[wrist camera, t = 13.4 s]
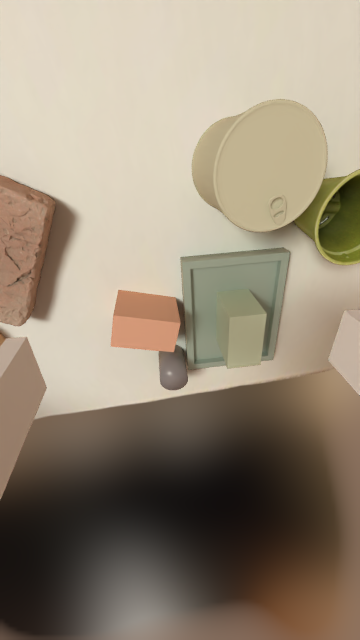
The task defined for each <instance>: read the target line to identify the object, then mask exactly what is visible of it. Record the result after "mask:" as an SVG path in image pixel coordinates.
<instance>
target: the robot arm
mask: <svg viewBox="0 0 360 640" xmlns="http://www.w3.org/2000/svg"><path fill="white" fill-rule="evenodd" d="M328 361H329V362H330V363H331V364H332V365H333V366H334V368H335V369H336V370H337V371H338V372H339V373H340V374H341V375H342V376H343V378H344V379H345V380H346V381H347V382H348V383H349V384H350V386H351V387H352V388H353V389H354V390H355V391H356V392H357V393H358V395H359V396H360V309H356V310H344V313H343V316H342V319H341V322H340V325H339V328H338V331H337V334H336V337H335V340H334V343H333V346H332V349H331V352H330V355H329V358H328ZM46 388H47V387H46V385H45V382H44V379H43V377H42V374H41V372H40V369H39V367H38V364H37V362H36V359H35V357H34V354H33V351H32V349H31V346H30V344H29V341H28V339H27V337H19V338H7V339H6V340H5V341H4V342H3V344H2V345H1V346H0V499H1V497H2V494H3V492H4V490H5V487H6V485H7V482H8V480H9V478H10V475H11V473H12V470H13V468H14V466H15V463H16V461H17V458H18V456H19V453H20V451H21V448H22V446H23V444H24V441H25V439H26V436H27V434H28V432H29V429H30V427H31V424H32V422H33V420H34V417H35V415H36V413H37V410H38V408H39V405H40V403H41V401H42V398H43V396H44V393H45V391H46Z"/></svg>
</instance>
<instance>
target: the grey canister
mask: <svg viewBox="0 0 360 640" xmlns="http://www.w3.org/2000/svg"><path fill="white" fill-rule="evenodd" d="M159 369H160V383H161V385H162V386H163V387H164V388H166V389H168V390H178V389H181V388H182V387H184V386H185V385H186V384H187V382H188V376H187V370H186V365H185V360H184V354H183V350H182V348H181V347H180V346H178V345H175V349H174V352H166V351H159Z"/></svg>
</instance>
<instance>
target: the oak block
mask: <svg viewBox="0 0 360 640" xmlns="http://www.w3.org/2000/svg"><path fill="white" fill-rule="evenodd" d="M5 340H6V338H5V337H4V336H3V335H2V334H1V333H0V346H1V345H2V344H3V342H4V341H5Z"/></svg>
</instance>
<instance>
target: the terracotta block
mask: <svg viewBox="0 0 360 640" xmlns="http://www.w3.org/2000/svg"><path fill="white" fill-rule="evenodd" d="M180 324H181V322H180V317H179V312H178V308H177V303H176V298H175V297H168V296H161V295H153V294H146V293H138V292H131V291H123V290H118V295H117V300H116V305H115V310H114V315H113V326H112V337H111V346H112V347H123V348H134V349H144V350H155V351H166V352H174V349H175V345H176V341H177V337H178V332H179V328H180Z"/></svg>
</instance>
